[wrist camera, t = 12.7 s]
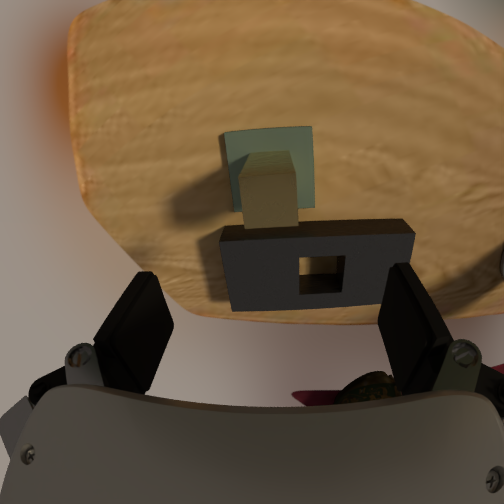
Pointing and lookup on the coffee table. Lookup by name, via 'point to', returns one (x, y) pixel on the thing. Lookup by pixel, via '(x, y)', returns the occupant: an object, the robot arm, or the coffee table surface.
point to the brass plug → (269, 190)
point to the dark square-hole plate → (312, 245)
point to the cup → (368, 389)
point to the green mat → (273, 140)
